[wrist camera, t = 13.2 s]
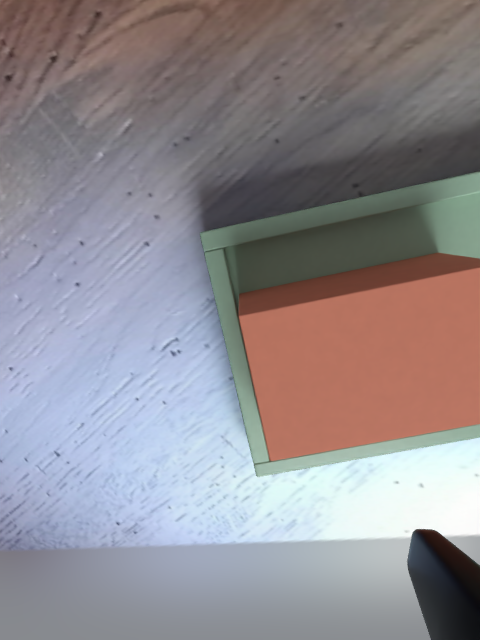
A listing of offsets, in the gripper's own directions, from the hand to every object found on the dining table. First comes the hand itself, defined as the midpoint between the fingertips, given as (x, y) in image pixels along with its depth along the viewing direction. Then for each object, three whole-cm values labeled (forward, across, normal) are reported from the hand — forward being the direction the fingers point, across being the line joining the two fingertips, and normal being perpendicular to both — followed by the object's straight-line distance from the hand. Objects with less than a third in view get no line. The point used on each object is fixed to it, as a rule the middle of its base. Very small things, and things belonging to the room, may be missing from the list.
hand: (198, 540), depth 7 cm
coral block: (+10, -6, -2) cm, 12 cm away
